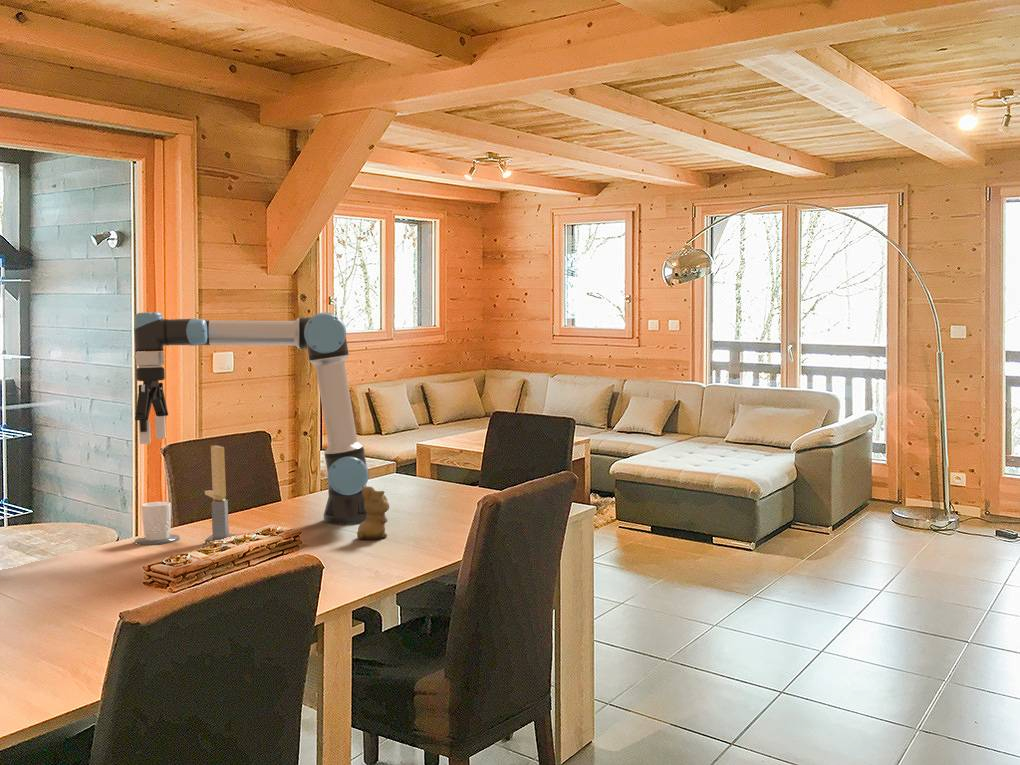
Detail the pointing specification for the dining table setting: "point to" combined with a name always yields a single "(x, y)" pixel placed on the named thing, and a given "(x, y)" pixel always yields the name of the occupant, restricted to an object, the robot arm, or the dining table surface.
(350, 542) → the dining table surface
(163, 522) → the white cup
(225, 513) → the post
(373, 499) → the figurine
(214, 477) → the tan l-shaped bracket
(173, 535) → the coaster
